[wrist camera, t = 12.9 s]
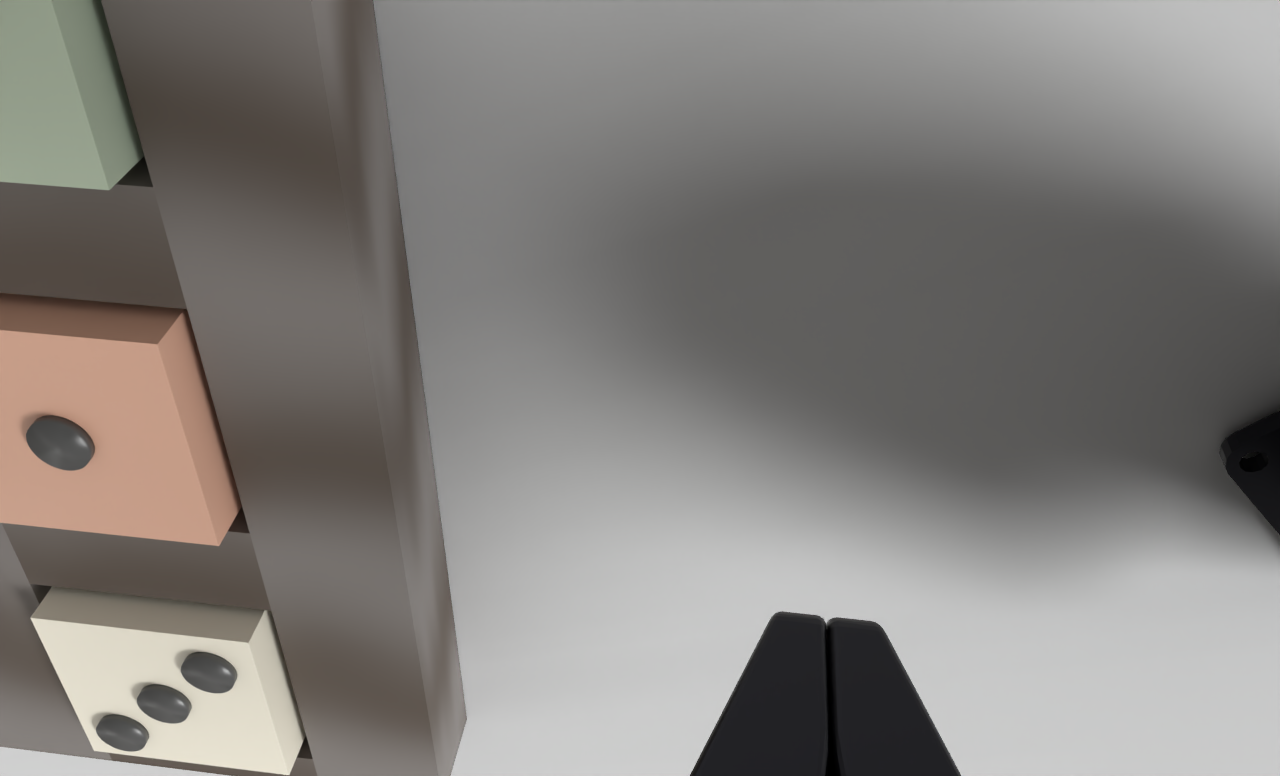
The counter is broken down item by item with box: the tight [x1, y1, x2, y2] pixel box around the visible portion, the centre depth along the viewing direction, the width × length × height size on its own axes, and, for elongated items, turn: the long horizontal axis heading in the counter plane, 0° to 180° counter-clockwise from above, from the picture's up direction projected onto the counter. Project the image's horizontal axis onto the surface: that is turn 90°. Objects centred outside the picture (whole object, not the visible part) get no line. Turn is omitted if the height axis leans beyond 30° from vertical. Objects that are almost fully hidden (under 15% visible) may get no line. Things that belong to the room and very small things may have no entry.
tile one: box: [0, 293, 242, 546], centre depth 23 cm, size 5×5×3 cm
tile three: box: [30, 586, 306, 775], centre depth 28 cm, size 5×5×3 cm
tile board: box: [0, 0, 467, 776], centre depth 23 cm, size 24×12×2 cm, turn 179°
